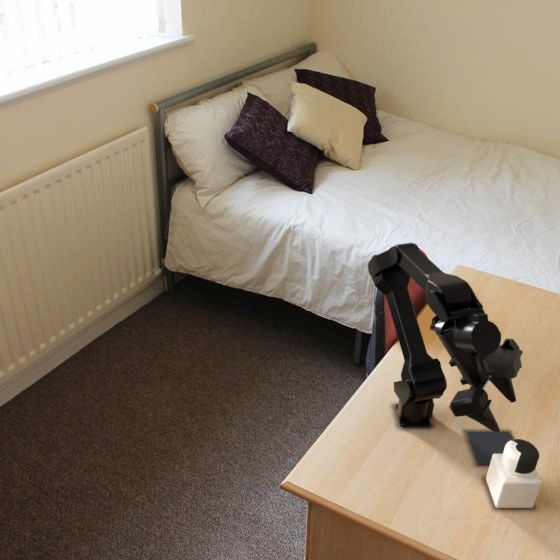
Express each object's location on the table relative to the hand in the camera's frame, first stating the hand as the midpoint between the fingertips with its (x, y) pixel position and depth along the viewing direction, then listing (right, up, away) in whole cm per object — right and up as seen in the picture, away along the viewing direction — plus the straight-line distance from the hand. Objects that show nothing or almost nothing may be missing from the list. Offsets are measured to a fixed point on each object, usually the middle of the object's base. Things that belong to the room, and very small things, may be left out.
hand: (505, 416), depth 131 cm
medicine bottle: (+2, -15, +3) cm, 16 cm away
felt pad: (+2, -9, +13) cm, 16 cm away
